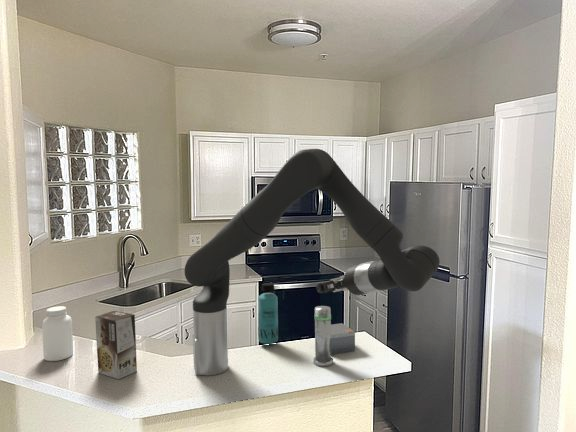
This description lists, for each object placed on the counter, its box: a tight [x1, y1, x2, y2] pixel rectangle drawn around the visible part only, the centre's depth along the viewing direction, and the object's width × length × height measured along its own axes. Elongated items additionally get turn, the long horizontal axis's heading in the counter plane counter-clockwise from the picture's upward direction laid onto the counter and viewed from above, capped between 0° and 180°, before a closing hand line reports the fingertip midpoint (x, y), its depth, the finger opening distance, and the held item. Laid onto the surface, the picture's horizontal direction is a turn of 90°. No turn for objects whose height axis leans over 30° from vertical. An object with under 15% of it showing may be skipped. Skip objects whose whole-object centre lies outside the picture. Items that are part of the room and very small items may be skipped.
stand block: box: [331, 323, 356, 356], centre depth 131 cm, size 9×9×6 cm
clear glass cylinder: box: [312, 305, 334, 368], centre depth 119 cm, size 6×6×16 cm
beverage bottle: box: [257, 282, 279, 345], centre depth 134 cm, size 6×7×20 cm
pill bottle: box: [41, 305, 74, 362], centre depth 127 cm, size 8×8×15 cm
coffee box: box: [94, 310, 138, 380], centre depth 115 cm, size 9×6×16 cm
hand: (330, 285), depth 115 cm, fingers open, 8 cm apart
